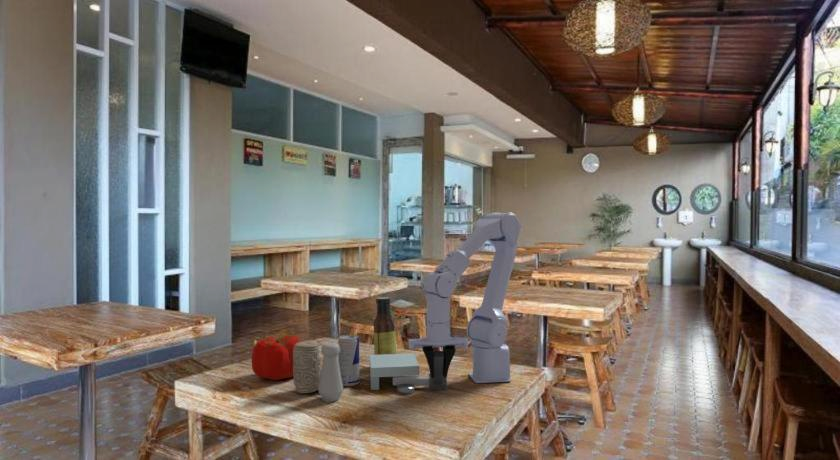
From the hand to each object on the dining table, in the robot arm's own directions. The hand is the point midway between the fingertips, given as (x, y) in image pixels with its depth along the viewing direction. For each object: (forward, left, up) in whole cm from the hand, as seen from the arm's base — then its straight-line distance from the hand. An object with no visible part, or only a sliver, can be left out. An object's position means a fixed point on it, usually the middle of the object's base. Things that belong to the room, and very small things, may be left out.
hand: (438, 376), depth 124 cm
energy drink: (+22, -9, -4) cm, 24 cm away
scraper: (+4, -3, -3) cm, 6 cm away
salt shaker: (+26, +2, -4) cm, 26 cm away
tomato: (+41, -17, -4) cm, 44 cm away
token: (+8, -1, -4) cm, 9 cm away
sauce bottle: (+12, -22, -4) cm, 25 cm away
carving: (+32, -4, -4) cm, 32 cm away
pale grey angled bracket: (+10, -9, -3) cm, 14 cm away
